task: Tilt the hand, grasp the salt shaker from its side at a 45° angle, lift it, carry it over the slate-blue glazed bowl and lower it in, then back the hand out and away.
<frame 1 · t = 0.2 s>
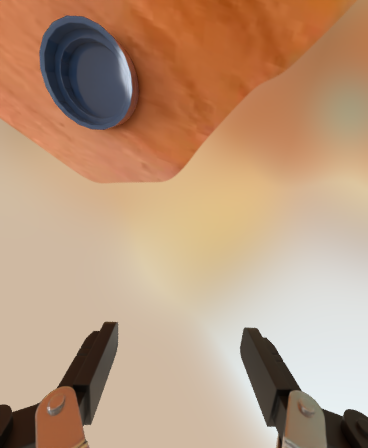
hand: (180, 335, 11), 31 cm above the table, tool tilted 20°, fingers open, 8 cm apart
bowl: (101, 84, 29), on the table
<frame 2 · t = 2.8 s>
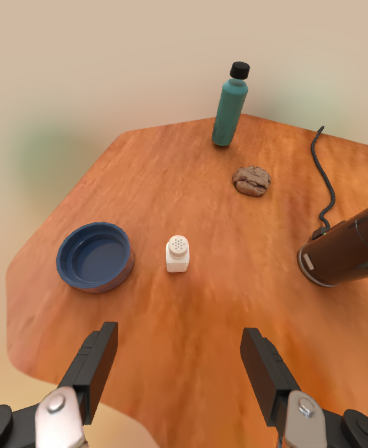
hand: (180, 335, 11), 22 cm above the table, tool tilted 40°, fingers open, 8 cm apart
bowl: (103, 261, 36), on the table
cookie: (250, 183, 50), on the table
beverage bottle: (220, 144, 57), on the table
salt shaker: (176, 263, 37), on the table
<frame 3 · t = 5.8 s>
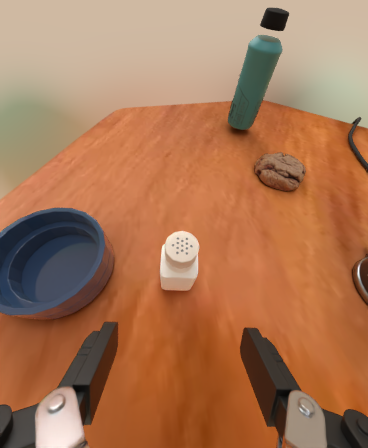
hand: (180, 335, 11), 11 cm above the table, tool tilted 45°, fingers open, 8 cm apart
bowl: (66, 267, 24), on the table
cookie: (276, 174, 38), on the table
beverage bottle: (236, 129, 46), on the table
salt shaker: (176, 276, 25), on the table
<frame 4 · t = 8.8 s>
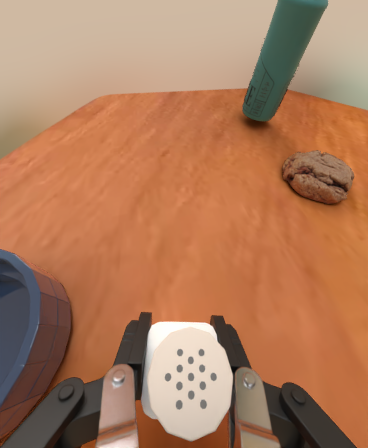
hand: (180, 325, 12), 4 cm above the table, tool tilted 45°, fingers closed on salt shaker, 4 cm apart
cookie: (311, 180, 28), on the table
beverage bottle: (253, 121, 36), on the table
salt shaker: (175, 355, 15), on the table, touching gripper
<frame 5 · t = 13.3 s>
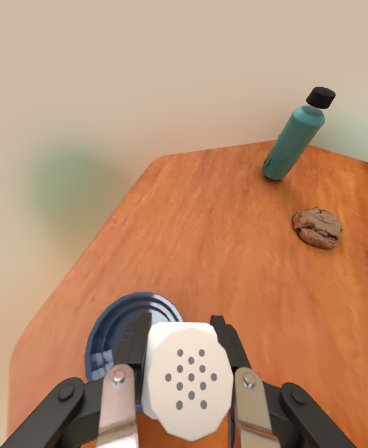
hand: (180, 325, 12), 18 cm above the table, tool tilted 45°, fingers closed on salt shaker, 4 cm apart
bowl: (142, 342, 26), on the table
cookie: (313, 228, 40), on the table
beverage bottle: (269, 176, 49), on the table
salt shaker: (176, 355, 15), point 14 cm above the table, touching gripper
when the fingers open (5 cm above the table, at t = 17.8 s): salt shaker stays where it is, resting on bowl.
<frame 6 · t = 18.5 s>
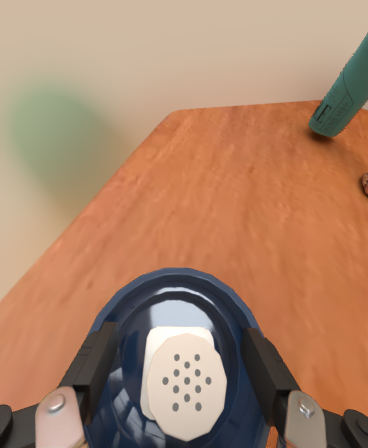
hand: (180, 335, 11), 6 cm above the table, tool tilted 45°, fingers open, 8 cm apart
bowl: (174, 355, 16), on the table
beverage bottle: (316, 136, 38), on the table
salt shaker: (174, 358, 15), resting on bowl
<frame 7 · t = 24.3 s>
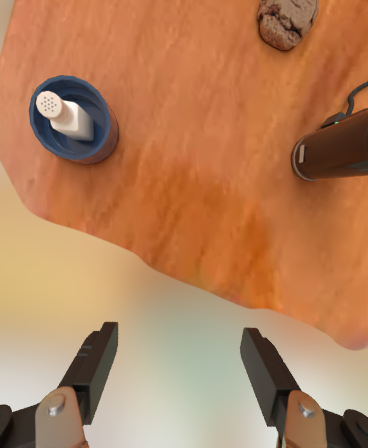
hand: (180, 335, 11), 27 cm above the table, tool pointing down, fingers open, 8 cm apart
bowl: (85, 130, 33), on the table
cookie: (283, 20, 33), on the table
salt shaker: (84, 130, 33), resting on bowl
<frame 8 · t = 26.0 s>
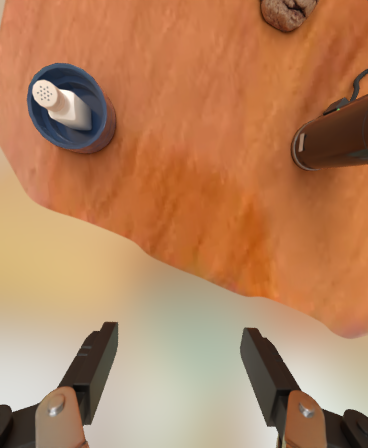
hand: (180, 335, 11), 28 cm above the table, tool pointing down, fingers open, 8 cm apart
bowl: (83, 119, 33), on the table
salt shaker: (82, 119, 33), resting on bowl
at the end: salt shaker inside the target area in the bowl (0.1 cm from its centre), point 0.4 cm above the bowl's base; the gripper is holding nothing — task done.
